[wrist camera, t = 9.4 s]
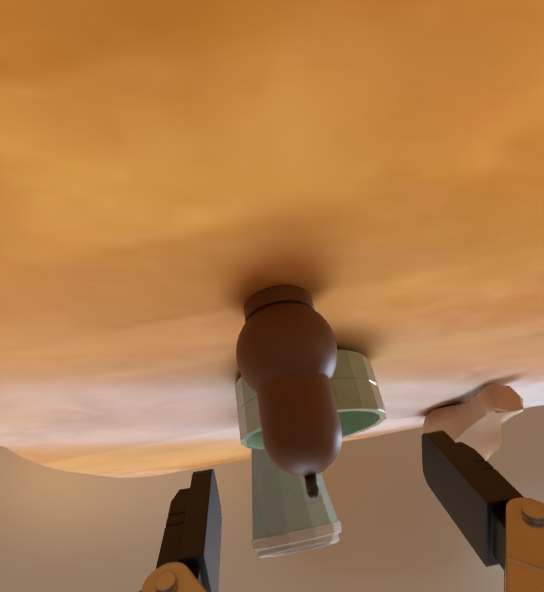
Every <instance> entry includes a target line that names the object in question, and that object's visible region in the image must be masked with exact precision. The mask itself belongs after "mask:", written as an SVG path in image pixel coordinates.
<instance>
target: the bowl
mask: <svg viewBox="0 0 544 592" xmlns="http://www.w3.org/2000/svg"><path fill="white" fill-rule="evenodd" d="M330 383H331V387H332V391H333V395H334V399H335V403H336V407H337V411H338V415H339V419H340V423H341V428H342V438H344V437H347V436H351V435H354V434H357V433H359V432H362V431H365V430H368V429H370V428H372V427H374V426H376V425H378V424H380V423H381V422H382V421H383V420H384V419H386V411H385V408H384V404H383V401H382V398H381V395H380V392H379V389H378V386H377V382H376V379H375V376H374V373H373V370H372V367H371V363H370V360H369V359H368V358H367V357H365V356H364V355H363V354H361V353H358V352H354V351H349V350H337V362H336V367H335V370H334V372H333V375H332V377H331V379H330ZM235 390H236V400H237V410H238V419H239V429H240V439H241V445H243V446H245V447H248V448H253V449H265V447H264V443H263V437H262V430H261V422H260V415H259V407H258V400H257V393H255V392H254V391H253V390H252V389H251V388H250V387H249V386H248V385H247V383H246V382H245V380H244V379H243V377H242V376H241V377H240V378H239V379H238V381H237V382H236V383H235Z"/></svg>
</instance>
